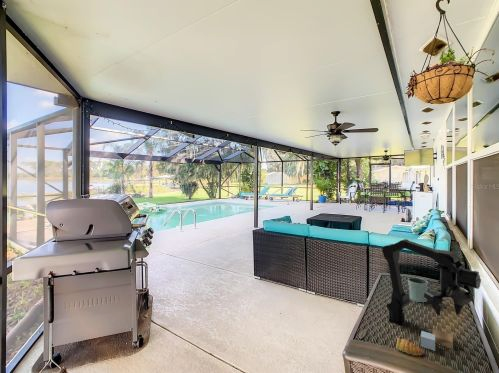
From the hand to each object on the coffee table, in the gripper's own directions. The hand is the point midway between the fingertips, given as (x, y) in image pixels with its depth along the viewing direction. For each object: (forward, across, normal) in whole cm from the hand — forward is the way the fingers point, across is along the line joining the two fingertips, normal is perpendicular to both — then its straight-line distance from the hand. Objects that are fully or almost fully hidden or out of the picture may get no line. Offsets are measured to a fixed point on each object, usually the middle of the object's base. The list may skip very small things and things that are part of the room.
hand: (447, 314), depth 109 cm
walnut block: (+13, -2, +1) cm, 13 cm away
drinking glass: (+14, +18, +40) cm, 46 cm away
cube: (+13, -10, -1) cm, 17 cm away
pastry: (+14, -21, -2) cm, 25 cm away
